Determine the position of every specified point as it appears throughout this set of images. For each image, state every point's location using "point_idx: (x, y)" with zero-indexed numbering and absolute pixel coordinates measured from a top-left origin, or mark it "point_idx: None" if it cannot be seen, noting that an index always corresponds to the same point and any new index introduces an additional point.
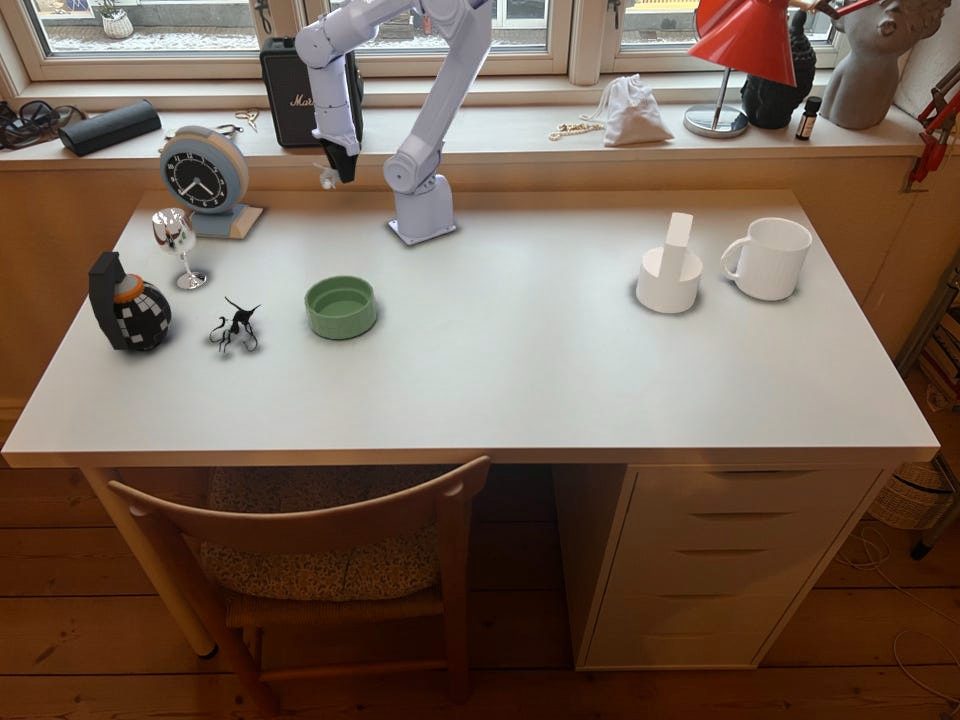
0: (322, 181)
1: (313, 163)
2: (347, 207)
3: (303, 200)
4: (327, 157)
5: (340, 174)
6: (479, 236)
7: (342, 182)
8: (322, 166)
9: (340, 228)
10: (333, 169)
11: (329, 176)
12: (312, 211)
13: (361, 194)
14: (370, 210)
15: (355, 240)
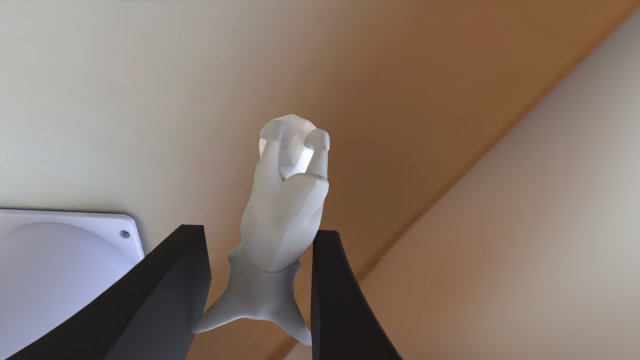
0: (266, 134)
1: (306, 183)
2: None
3: (515, 17)
4: (351, 312)
5: (132, 268)
6: None
7: (185, 227)
8: (292, 222)
9: (184, 61)
10: (279, 257)
11: (250, 198)
12: (392, 12)
13: (380, 228)
14: None
15: (67, 74)
